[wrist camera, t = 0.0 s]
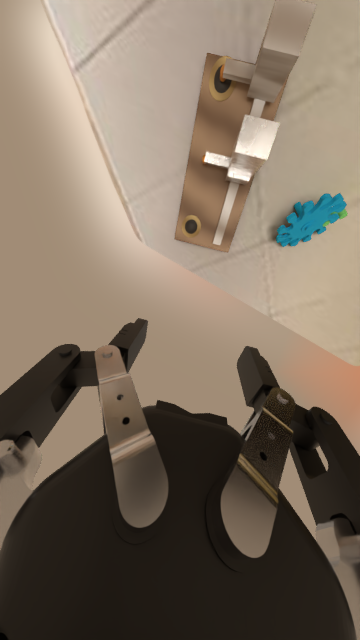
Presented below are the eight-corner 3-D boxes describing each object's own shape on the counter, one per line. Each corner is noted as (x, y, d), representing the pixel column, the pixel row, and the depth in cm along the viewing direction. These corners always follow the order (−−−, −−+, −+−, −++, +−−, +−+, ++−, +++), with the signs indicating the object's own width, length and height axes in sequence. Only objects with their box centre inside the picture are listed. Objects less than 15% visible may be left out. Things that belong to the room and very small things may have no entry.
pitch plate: (206, 62, 23) (209, -33, 15) (284, 81, 23) (330, -3, 15) (175, 238, 35) (167, 240, 27) (226, 251, 35) (234, 257, 27)
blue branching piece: (269, 253, 33) (296, 207, 24) (260, 232, 35) (283, 181, 25) (324, 242, 32) (375, 190, 23) (312, 220, 34) (356, 164, 24)
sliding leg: (205, 143, 26) (207, 97, 17) (255, 156, 26) (282, 116, 17) (199, 175, 28) (197, 148, 19) (245, 186, 28) (264, 165, 19)
